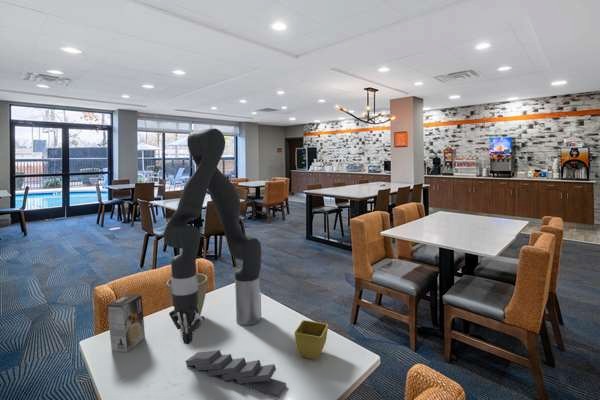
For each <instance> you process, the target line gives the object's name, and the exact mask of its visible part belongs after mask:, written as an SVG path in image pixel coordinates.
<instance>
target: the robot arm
mask: <svg viewBox="0 0 600 400" xmlns="http://www.w3.org/2000/svg"><path fill="white" fill-rule="evenodd" d="M186 142H187V143H186V144H187V148H188V151H189V154H190V155H191V158H192V159H193V162H194V163H195V165H196V170H195V171H194V172H193V173H192V175H191V176H190V178H188V180H187V181H186V183H185V184H184V187H183V189H182V191H181V195H180V198H179V201H178V203H177V208H176V210H175V212H174V213H173V215H172V216H171V218H170V219H169V221H168V222H167V225H166V226H165V229H164V231H163V241H164V244H165V245H166V246H168V247H169V248H175V249H182V251H181V254H178V255H175V256H173V257H172V259H171V263H170V266H171V278H172V300H171V302H172V301H173V303H172V307H173V310H172V311H171V310H170V312H169V313H168V315H169V317H170V318H171V321H172V322H173V324H174V325H175V328H176V330H180V331H181V333H182V341H183V344H184V345H190V344H191V343H193V341H194V336H193V333H194V332H196V331H198V329H199V328H200V326H201V325H202V324H203V322H204V321H205V318H206V317H205V316H204V315H199V314H198V309H197V304H198V301H199V299H198V281H197V275H196V273H197V258H198V257H197V256H198V252H199V247H200V243H201V233H200V230H199V229H198V227H197V226H195V225H190V224H188V223H189V222H190V221H193V220H196V219H199V217H200V216H201V213H202V210H203V207H204V206H203V205H204V202H205V200H206V199H205V198H206V195H207V192H208V193H209V196H210V199H211V202H212V204H213V207H214V209H215V212H216V213H217V217H218V219H219V221H220V224H221V227H222V230H223V232H224V236H225V240H226V242H227V244H226V245H227V247H228V250H229V253H230V255H231V256H232V257H233V258H234V259H236V260H240V261H242V267H239V268H238V269H236V270H235V272H234V284H235V286H234V289H235V315H236V317H235V318H236V319H235V320H236V323H237V324H238V325H241V326H254V325H256V324H258V323H259V322H260V321H261V317H262V294H261V293H260V292H261V290H260V289H261V288H260V272H261V268H262V246H261V242H260V240H259V239H257V238H256V237H252V236H247V235H245V234H244V233H243V230H242V228H241V225H240V215H241V210H242V204H241V200H240V197H239V194H238V191H237V188H236V186H235V185H234V184H233V183H232V181H231V180H230V179H229V178H228V177H226V175H225V174H224V173H222V172H221V170H220V169H219V167H218V165H219V162H220V161H221V159H222V156H223V154H224V151H225V147H226V138H225V135H224V133H223V132H222V131H221V130H220V129H217V128H205V129H198V130H197V129H196V130H194V131H192V132H190V133H189V134H188V136H187V141H186Z"/></svg>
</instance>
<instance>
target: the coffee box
mask: <svg viewBox="0 0 600 400" xmlns="http://www.w3.org/2000/svg"><path fill="white" fill-rule="evenodd" d="M142 297H143V296H142V294H129V293H126V294H124V295H122V296H120V297H119V298H117V299H115V300H112V302H109V303H108V304H107V305H106V307H107V308H106V309H107V315H108V317H107V318H108V326H109V327H108V328H109V335H110V336H109V337H110V349H111V351H116V352H125V353H128V352H129V351H130V350H132V349H133V348H134V347H135V346H137V345H138V344H139V343H140V342H142V341H143V340H144V339H146V338H145V337H146V333H145V323H144V322H145V321H144V311H143V310H144V308H143V298H142Z"/></svg>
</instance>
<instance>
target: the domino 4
mask: <svg viewBox="0 0 600 400" xmlns="http://www.w3.org/2000/svg"><path fill="white" fill-rule="evenodd" d="M260 366H262V363H261V361H260V359H256V360H252V361H246V363H245V365H244V366H243V367H242V368H241V369H240V370H239V371H238V372H237V373H233V374H224V375H221V377H222V379H223V381H224V382H225V381H228V380H229V381H231V380H235V379H236V380H237V378H243V377H248V376H254V374H255V373H256V371H257V370H258V369H259V367H260Z"/></svg>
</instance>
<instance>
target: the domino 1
mask: <svg viewBox="0 0 600 400" xmlns="http://www.w3.org/2000/svg"><path fill="white" fill-rule="evenodd" d="M221 355H222V353H221V349H215V350H207V351H205V350H204V351H198V352H196V353H194V354H193V355H192V356H191V357H189V358H187V359H186V360H185V364H186V366H187V367H189V366H190V367H192V366H196V365H203V364H210V363H211V362H213V361H214V360H215V359H217V358H218V357H219V356H221Z"/></svg>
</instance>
